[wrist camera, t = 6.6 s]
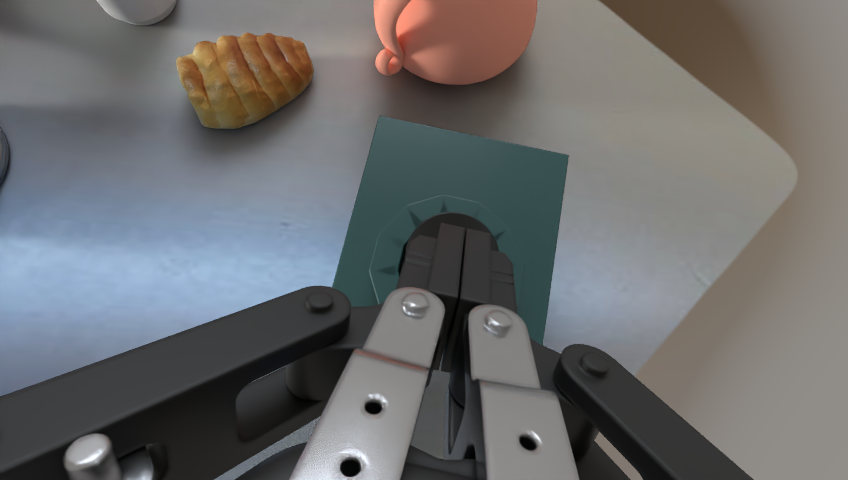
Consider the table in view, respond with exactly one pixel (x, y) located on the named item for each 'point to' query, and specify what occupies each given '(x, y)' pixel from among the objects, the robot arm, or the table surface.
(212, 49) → the pastry
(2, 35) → the table surface
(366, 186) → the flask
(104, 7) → the energy drink can
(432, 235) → the black knob
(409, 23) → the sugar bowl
